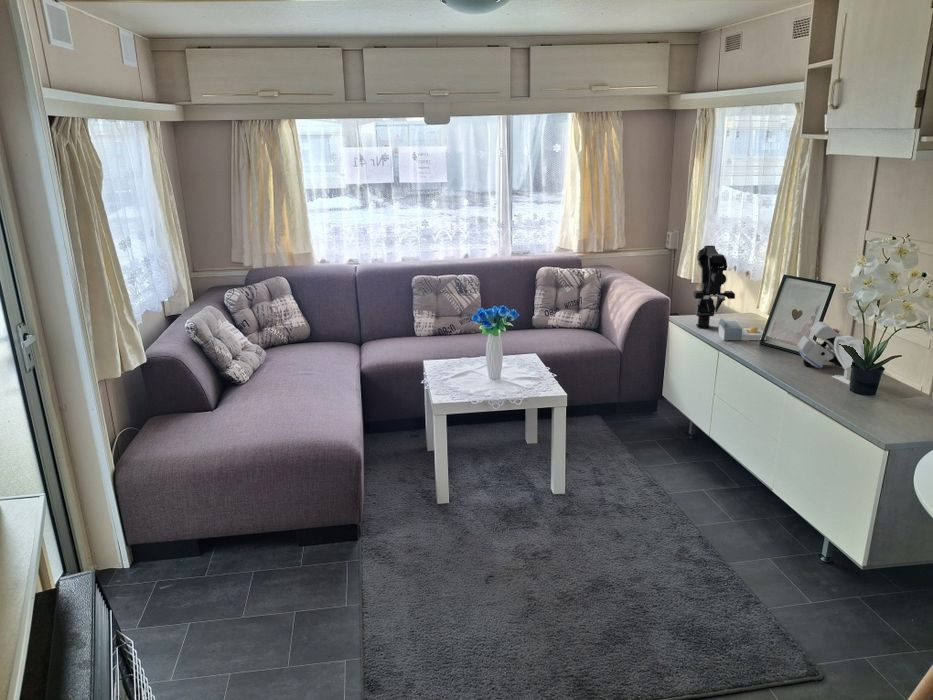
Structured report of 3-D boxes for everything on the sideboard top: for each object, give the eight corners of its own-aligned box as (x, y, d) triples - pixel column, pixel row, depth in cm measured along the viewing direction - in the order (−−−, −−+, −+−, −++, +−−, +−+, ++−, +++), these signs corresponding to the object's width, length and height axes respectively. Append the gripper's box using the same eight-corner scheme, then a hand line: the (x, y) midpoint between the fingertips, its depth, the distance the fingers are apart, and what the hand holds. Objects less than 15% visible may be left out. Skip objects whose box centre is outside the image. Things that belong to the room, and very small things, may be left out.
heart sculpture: (828, 374, 299) (833, 333, 293) (838, 373, 300) (844, 332, 294) (854, 387, 284) (860, 344, 279) (865, 386, 285) (871, 343, 280)
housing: (718, 333, 360) (719, 324, 358) (759, 334, 358) (760, 324, 356) (723, 340, 349) (724, 330, 347) (766, 341, 346) (767, 331, 345)
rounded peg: (747, 336, 355) (748, 326, 353) (755, 336, 354) (756, 326, 353) (749, 338, 351) (750, 328, 349) (757, 338, 350) (758, 328, 349)
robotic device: (833, 386, 306) (867, 351, 299) (793, 358, 305) (826, 322, 299) (825, 378, 316) (858, 343, 309) (787, 351, 315) (819, 315, 308)
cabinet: (718, 332, 361) (719, 317, 358) (734, 332, 360) (735, 317, 357) (724, 340, 348) (725, 324, 345) (741, 340, 347) (742, 324, 344)
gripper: (731, 277, 353) (728, 307, 357) (692, 277, 355) (690, 307, 360) (736, 282, 342) (733, 313, 347) (696, 282, 345) (694, 313, 349)
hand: (712, 311), depth 351 cm, fingers open, 3 cm apart
